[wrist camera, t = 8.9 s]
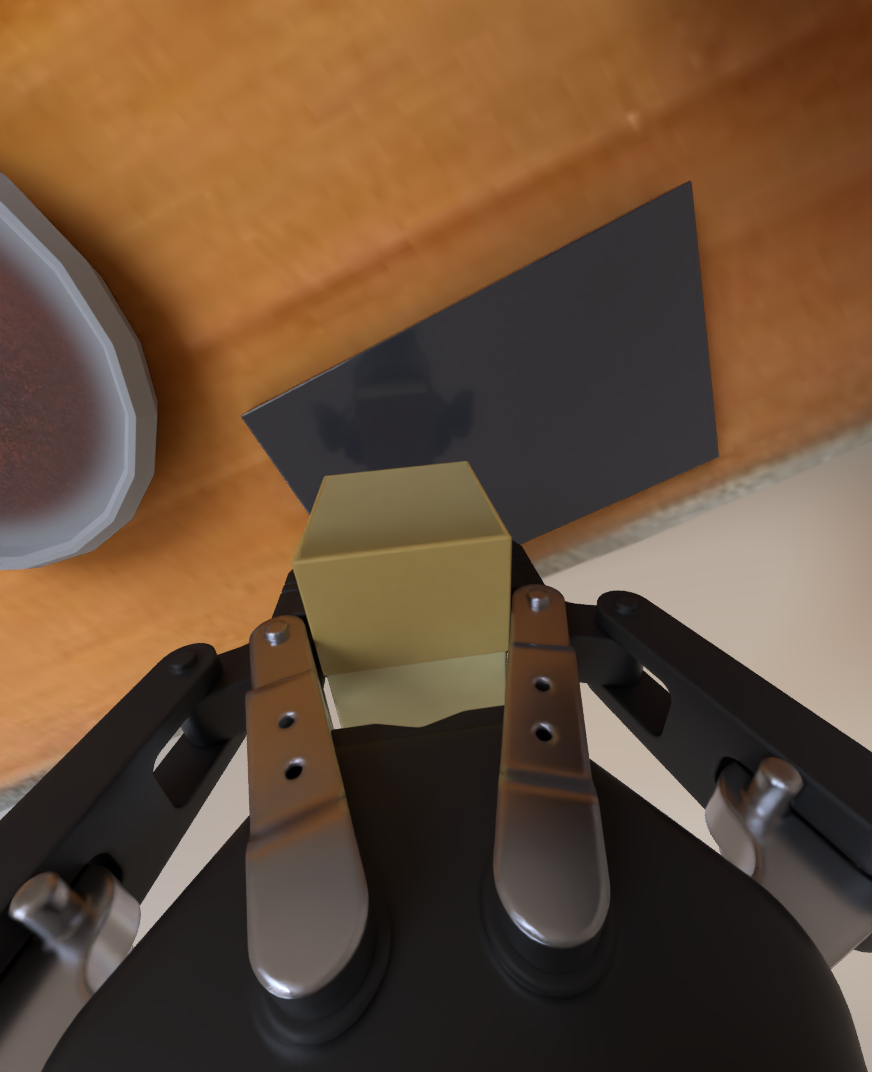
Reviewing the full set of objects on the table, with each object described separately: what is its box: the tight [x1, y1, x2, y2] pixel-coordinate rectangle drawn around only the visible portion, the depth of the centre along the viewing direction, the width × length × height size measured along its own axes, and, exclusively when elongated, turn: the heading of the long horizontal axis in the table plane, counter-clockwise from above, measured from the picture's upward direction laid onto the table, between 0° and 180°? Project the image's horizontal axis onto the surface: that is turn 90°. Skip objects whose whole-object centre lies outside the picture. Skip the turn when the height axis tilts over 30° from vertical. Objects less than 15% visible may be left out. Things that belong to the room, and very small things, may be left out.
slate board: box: [241, 181, 719, 545], centre depth 20 cm, size 20×12×1 cm, turn 114°
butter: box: [292, 461, 512, 728], centre depth 12 cm, size 4×6×5 cm
